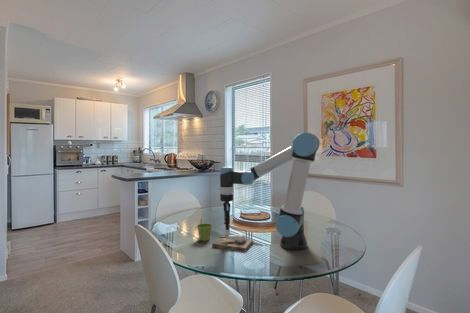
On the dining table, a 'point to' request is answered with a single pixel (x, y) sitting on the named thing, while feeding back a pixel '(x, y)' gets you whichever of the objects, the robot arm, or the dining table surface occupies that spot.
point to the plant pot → (204, 231)
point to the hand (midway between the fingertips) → (227, 233)
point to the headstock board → (232, 244)
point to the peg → (235, 237)
